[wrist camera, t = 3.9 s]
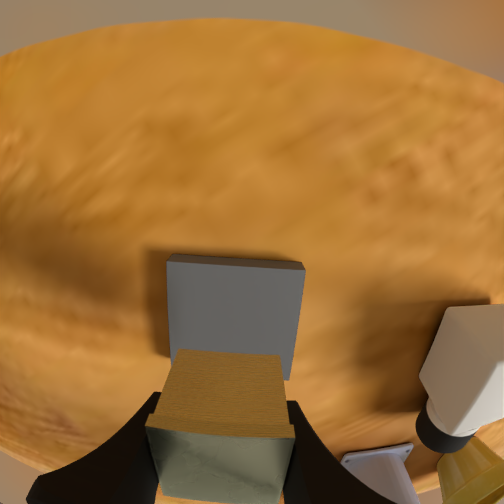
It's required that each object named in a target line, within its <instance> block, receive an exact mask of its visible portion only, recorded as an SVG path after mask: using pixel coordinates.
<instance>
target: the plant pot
mask: <svg viewBox="0 0 504 504" xmlns="http://www.w3.org/2000/svg"><path fill="white" fill-rule="evenodd" d="M437 471H438V476H439V481H440V487H441V492H442V498H443V504H496V503H497V502H499V501H500V500H501V499H502V498H503V497H504V460H503V459H502V458H501V457H500V456H499V455H497V454H496V453H495V452H494V451H493V450H492V449H491V448H489V447H488V446H487V445H486V444H485V443H484V442H482V441H481V440H480V439H479V438H478V437H472V438H471V439H470V440H469V442H468V443H467V444H466V445H465V446H464V447H463V448H462V449H461V450H459V451H457V452H454V453H445V454H444V455H443V456H442V457H441V458H440V460H439V461H438V463H437Z"/></svg>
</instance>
